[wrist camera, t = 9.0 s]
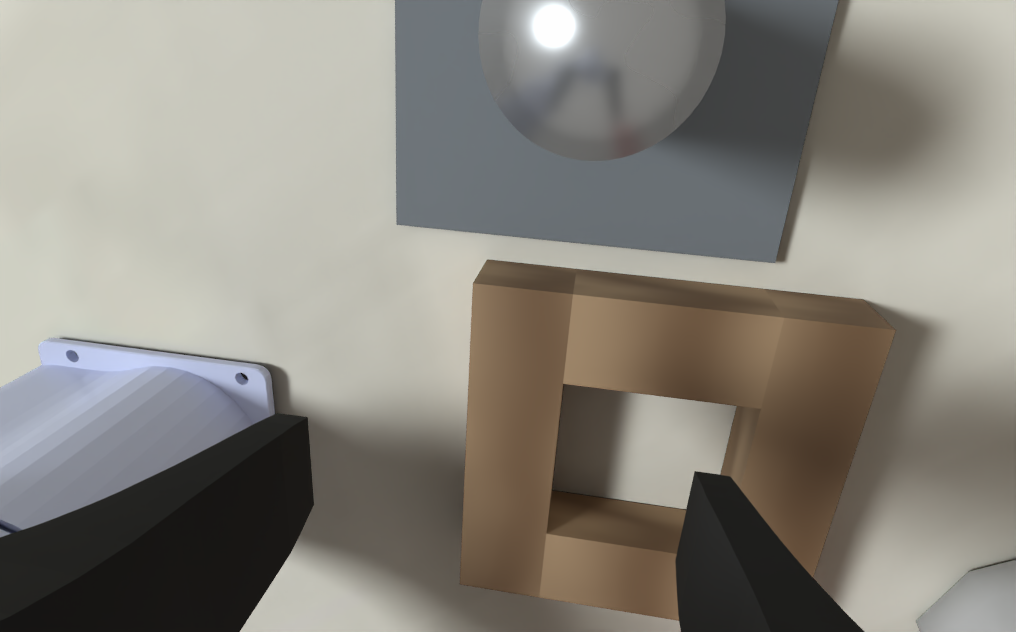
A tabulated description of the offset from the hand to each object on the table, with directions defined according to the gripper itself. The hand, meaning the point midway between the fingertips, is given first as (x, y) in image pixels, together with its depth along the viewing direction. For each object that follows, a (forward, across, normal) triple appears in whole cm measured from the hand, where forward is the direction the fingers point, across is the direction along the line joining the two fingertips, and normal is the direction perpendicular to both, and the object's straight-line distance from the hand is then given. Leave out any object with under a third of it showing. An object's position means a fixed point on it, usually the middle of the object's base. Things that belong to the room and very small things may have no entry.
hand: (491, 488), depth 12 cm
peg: (+10, -1, -8) cm, 13 cm away
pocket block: (+10, -4, +5) cm, 12 cm away
